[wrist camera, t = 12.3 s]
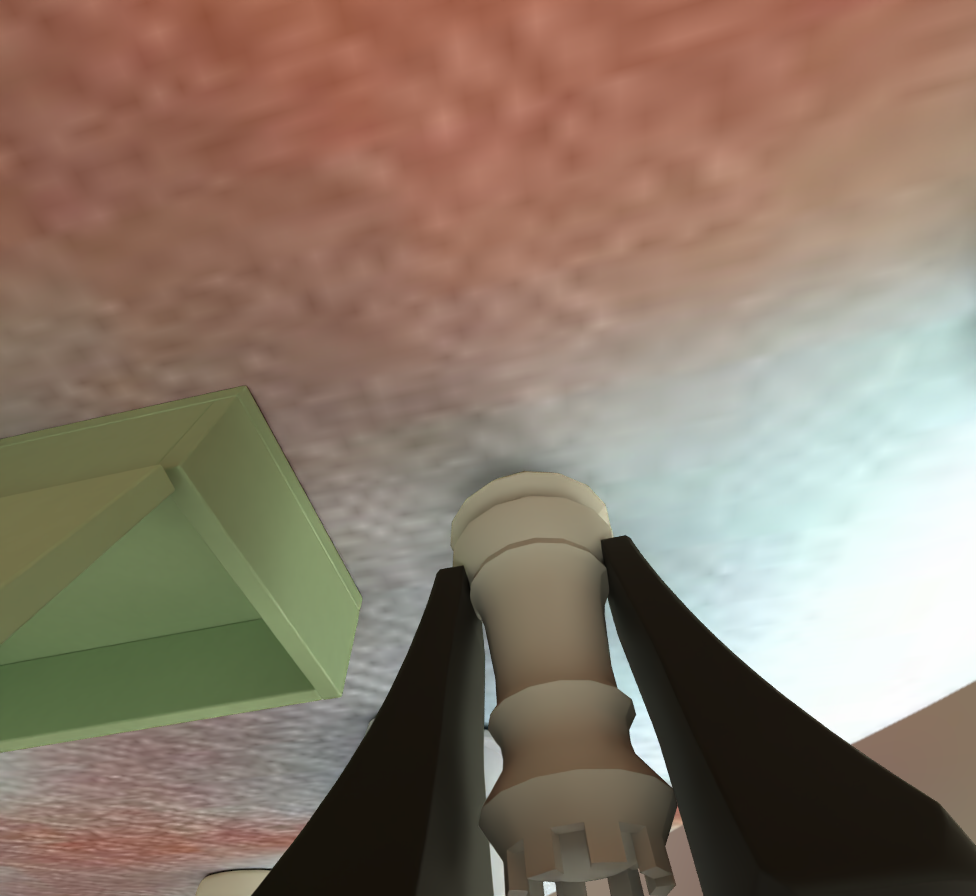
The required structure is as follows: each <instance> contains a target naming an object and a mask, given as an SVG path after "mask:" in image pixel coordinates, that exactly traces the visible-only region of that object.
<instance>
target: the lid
mask: <svg viewBox="0 0 976 896" xmlns="http://www.w3.org/2000/svg"><path fill="white" fill-rule="evenodd" d="M174 491H175V488H174V486H173V485H172V483H171V481H170V479H169V478H168V476H167V474H166V472H165V471H164V469H163V467H162V466H161V465H154V466H149V467H145V468H140V469H135V470H130V471H125V472H121V473H116V474H111V475H106V476H102V477H97V478H92V479H87V480H83V481H78V482H73V483H68V484H63V485H59V486H54V487H49V488H44V489H40V490H35V491H30V492H25V493H20V494H16V495H11V496H6V497H1V498H0V645H1V644H3V643H4V642H5V641H6V640H7V639H8V638H9V637H10V636H12V635H13V634H14V633H15V632H16V631H17V630H18V629H19V628H21V627H22V626H23V625H24V624H25V623H26V622H27V621H28V620H30V619H31V618H32V617H33V616H34V615H35V614H36V613H37V612H39V611H40V610H41V609H42V608H43V607H44V606H45V605H46V604H48V603H49V602H50V601H51V600H52V599H53V598H54V597H56V596H57V595H58V594H59V593H60V592H61V591H62V590H63V589H65V588H66V587H67V586H68V585H69V584H70V583H71V582H72V581H74V580H75V579H76V578H77V577H78V576H79V575H80V574H81V573H83V572H84V571H85V570H86V569H87V568H88V567H89V566H90V565H92V564H93V563H94V562H95V561H96V560H97V559H98V558H99V557H101V556H102V555H103V554H104V553H105V552H106V551H107V550H108V549H110V548H111V547H112V546H113V545H114V544H115V543H116V542H117V541H119V540H120V539H121V538H122V537H123V536H124V535H125V534H126V533H128V532H129V531H130V530H131V529H132V528H133V527H134V526H136V525H137V524H138V523H139V522H140V521H141V520H142V519H143V518H145V517H146V516H147V515H148V514H149V513H150V512H151V511H152V510H154V509H155V508H156V507H157V506H158V505H159V504H160V503H161V502H163V501H164V500H165V499H166V498H167V497H168V496H169V495H170V494H172V493H173V492H174Z"/></svg>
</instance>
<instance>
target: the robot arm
mask: <svg viewBox="0 0 976 896" xmlns="http://www.w3.org/2000/svg"><path fill="white" fill-rule="evenodd" d="M601 549H602V555H603V561H604V566H605V567H606V568H607V575H608V583H609V594H608V597H607V598H608V601H609V605H610V609H611V612H612V616H613V620H614V623H615V627H616V630H617V634H618V637H619V639H620V642H621V644H622V647H623V650H624V652H625V655H626V657H627V660H628V662H629V665H630V668H631V670H632V673H633V675H634V678H635V680H636V683H637V686H638V688H639V691H640V693H641V696H642V698H643V701H644V703H645V706H646V709H647V711H648V714H649V716H650V719H651V721H652V724H653V727H654V730H655V733H656V735H657V738H658V741H659V744H660V747H661V750H662V754H663V757H664V760H665V764H666V767H667V771H668V774H669V777H670V781H671V784H672V787H673V789H674V793H675V797H676V801H677V804H678V808H679V811H680V815H681V818H682V822H683V825H684V829H685V832H686V835H687V839H688V842H689V846H690V849H691V853H692V857H693V860H694V864H695V867H696V871H697V874H698V878H699V881H700V885H701V888H702V892H703V896H976V845H975V844H974V843H973V842H972V841H971V839H970V838H969V837H968V836H967V835H966V834H965V832H964V831H963V830H962V829H961V828H960V826H959V825H958V824H957V823H956V822H955V821H954V820H953V818H952V817H951V816H950V815H949V814H948V813H947V812H946V810H945V809H944V808H943V807H942V806H941V805H940V804H939V803H938V802H937V801H935V800H933V799H932V798H930V797H929V796H927V795H926V794H924V793H922V792H921V791H919V790H918V789H916V788H915V787H913V786H912V785H910V784H908V783H907V782H905V781H904V780H902V779H901V778H899V777H897V776H896V775H894V774H893V773H891V772H890V771H888V770H887V769H885V768H884V767H882V766H881V765H879V764H878V763H876V762H875V761H873V760H872V759H870V758H869V757H867V756H866V755H865V754H863V753H862V752H860V751H859V750H857V749H856V748H854V747H853V746H852V745H850V744H849V743H847V742H846V741H844V740H843V739H842V738H840V737H839V736H837V735H836V734H834V733H833V732H832V731H830V730H829V729H828V728H826V727H825V726H824V725H822V724H821V723H820V722H818V721H817V720H816V719H814V718H813V717H812V716H810V715H809V714H808V713H806V712H805V711H804V710H802V709H801V708H800V707H798V706H797V705H796V704H795V703H793V702H792V701H791V700H789V699H788V698H787V697H785V696H784V695H783V694H781V693H780V692H779V691H778V690H776V689H775V688H774V687H773V686H772V685H770V684H769V683H768V682H767V681H766V680H764V679H763V678H762V677H761V676H759V675H758V674H757V673H756V672H755V671H753V670H752V669H751V668H750V667H749V666H748V665H747V664H745V663H744V662H743V661H742V660H741V659H740V658H739V657H737V656H736V655H735V654H734V653H733V652H732V651H731V650H730V649H729V648H728V647H726V646H725V645H724V644H723V643H722V642H721V641H720V640H719V639H718V638H717V637H716V636H715V635H714V634H713V633H712V632H711V631H710V630H709V629H708V628H707V627H706V626H705V625H704V624H703V623H702V622H701V621H700V620H699V619H698V618H697V617H696V616H695V615H694V614H693V613H692V612H691V611H690V610H689V609H688V608H687V607H686V606H685V605H684V604H683V603H682V601H681V600H680V599H679V598H678V597H677V596H676V595H675V594H674V593H673V592H672V591H671V589H670V588H669V587H668V586H667V585H666V584H665V583H664V581H663V580H662V579H661V578H660V577H659V576H658V574H657V573H656V572H655V571H654V569H653V568H652V567H651V566H650V565H649V563H648V562H647V561H646V559H645V558H644V557H643V555H642V554H641V553H640V551H639V550H638V549H637V547H636V546H635V544H634V543H633V542H632V540H631V538H629V537H628V536H626V535H624V536H619V537H613V538H608V539H603V540H601ZM470 591H471V589H470V585H469V581H468V577H467V574H466V571H465V568H464V565H462V566H456V567H451V568H445V569H440V570H439V571H438V573H437V574H436V578H435V581H434V584H433V588H432V591H431V594H430V597H429V600H428V603H427V605H426V608H425V611H424V613H423V616H422V619H421V622H420V624H419V626H418V629H417V631H416V634H415V636H414V639H413V641H412V644H411V646H410V648H409V651H408V653H407V655H406V657H405V660H404V662H403V664H402V666H401V668H400V670H399V672H398V675H397V677H396V679H395V681H394V683H393V685H392V687H391V689H390V691H389V693H388V695H387V697H386V699H385V701H384V703H383V705H382V707H381V708H380V710H379V712H378V714H377V716H376V718H375V719H373V720H371V721H370V723H369V725H368V728H367V731H366V733H365V736H364V738H363V740H362V742H361V743H360V745H359V747H358V748H357V750H356V752H355V753H354V755H353V756H352V758H351V760H350V761H349V763H348V764H347V766H346V768H345V769H344V771H343V772H342V774H341V775H340V777H339V778H338V780H337V781H336V783H335V784H334V786H333V787H332V789H331V790H330V791H329V793H328V794H327V796H326V797H325V799H324V800H323V801H322V803H321V804H320V806H319V807H318V809H317V810H316V811H315V813H314V814H313V816H312V817H311V819H310V820H309V821H308V823H307V824H306V826H305V827H304V828H303V830H302V831H301V832H300V834H299V835H298V836H297V838H296V839H295V840H294V842H293V843H292V844H291V845H290V847H289V848H288V849H287V851H286V852H285V853H284V854H283V856H282V857H281V858H280V859H279V861H278V862H277V863H276V865H275V866H274V867H273V868H272V870H271V871H270V872H269V873H268V875H267V876H266V877H265V879H264V880H263V881H262V882H261V884H260V885H259V886H258V887H257V889H256V890H255V891H254V892H253V894H252V895H251V896H505V882H504V865H503V861H502V859H501V858H500V857H499V855H498V854H497V852H496V851H495V849H494V848H493V846H492V845H491V843H490V842H489V840H488V839H487V837H486V836H485V834H484V833H483V832H482V830H481V829H480V827H479V826H478V824H479V819H480V813H481V808H482V807H483V805H484V803H485V801H486V799H487V798H488V796H489V794H490V792H491V790H492V789H493V787H494V785H495V783H496V781H497V780H498V778H499V776H500V774H501V772H502V770H503V758H502V753H501V748H500V747H499V746H498V745H497V744H496V742H495V740H494V739H493V737H492V736H491V734H490V732H489V731H488V730H484V700H485V651H484V640H483V629H482V621H481V620H480V619H478V617H477V615H476V613H475V610H474V608H473V605H472V603H471V599H470Z"/></svg>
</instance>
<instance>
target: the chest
mask: <svg viewBox="0 0 976 896" xmlns="http://www.w3.org/2000/svg"><path fill="white" fill-rule="evenodd" d="M154 465H161V466H162V467H163V469H164V471H165V472H166V474H167V476H168V478H169V479H170V481H171V483H172V485H173V486H174V488H175V491H174V492H173V493H172V494H170V495H169V496H168V497H167V498H166V499H165V500H164V501H163V502H161V503H160V504H159V505H158V506H157V507H156V508H155V509H154V510H152V511H151V512H150V513H149V514H148V515H147V516H146V517H145V518H143V519H142V520H141V521H140V522H139V523H138V524H137V525H136V526H134V527H133V528H132V529H131V530H130V531H129V532H128V533H126V534H125V535H124V536H123V537H122V538H121V539H120V540H119V541H117V542H116V543H115V544H114V545H113V546H112V547H111V548H110V549H108V550H107V551H106V552H105V553H104V554H103V555H102V556H101V557H99V558H98V559H97V560H96V561H95V562H94V563H93V564H92V565H90V566H89V567H88V568H87V569H86V570H85V571H84V572H83V573H81V574H80V575H79V576H78V577H77V578H76V579H75V580H74V581H72V582H71V583H70V584H69V585H68V586H67V587H66V588H65V589H63V590H62V591H61V592H60V593H59V594H58V595H57V596H56V597H54V598H53V599H52V600H51V601H50V602H49V603H48V604H46V605H45V606H44V607H43V608H42V609H41V610H40V611H39V612H37V613H36V614H35V615H34V616H33V617H32V618H31V619H30V620H28V621H27V622H26V623H25V624H24V625H23V626H22V627H21V628H19V629H18V630H17V631H16V632H15V633H14V634H13V635H12V636H10V637H9V638H8V639H7V640H6V641H5V642H4V643H3V644H1V645H0V753H2V752H8V751H14V750H20V749H26V748H32V747H38V746H44V745H50V744H56V743H62V742H69V741H75V740H81V739H87V738H93V737H99V736H105V735H111V734H117V733H123V732H129V731H135V730H142V729H148V728H154V727H160V726H166V725H172V724H178V723H184V722H190V721H196V720H202V719H208V718H215V717H221V716H227V715H233V714H239V713H245V712H251V711H257V710H263V709H269V708H275V707H281V706H288V705H294V704H300V703H306V702H312V701H318V700H321V699H323V700H326V699H332V698H338V697H342V693H343V689H344V684H345V679H346V674H347V669H348V665H349V660H350V655H351V650H352V646H353V641H354V636H355V631H356V627H357V622H358V617H359V611H360V607H361V602H362V597H361V595H360V593H359V591H358V589H357V588H356V586H355V584H354V582H353V580H352V578H351V577H350V575H349V573H348V571H347V569H346V567H345V566H344V564H343V562H342V560H341V558H340V556H339V555H338V553H337V551H336V549H335V547H334V545H333V544H332V542H331V540H330V538H329V536H328V534H327V533H326V531H325V529H324V527H323V525H322V523H321V522H320V520H319V518H318V516H317V514H316V512H315V511H314V509H313V507H312V505H311V503H310V501H309V500H308V498H307V496H306V494H305V492H304V490H303V489H302V487H301V485H300V483H299V481H298V479H297V478H296V476H295V474H294V472H293V470H292V468H291V467H290V465H289V463H288V461H287V459H286V457H285V456H284V454H283V452H282V450H281V448H280V447H279V445H278V443H277V441H276V439H275V437H274V436H273V434H272V432H271V430H270V428H269V426H268V425H267V423H266V421H265V419H264V417H263V415H262V414H261V412H260V410H259V408H258V406H257V404H256V403H255V401H254V399H253V397H252V395H251V393H250V392H249V390H248V388H247V387H246V386H240V387H236V388H231V389H227V390H222V391H218V392H213V393H209V394H204V395H200V396H195V397H190V398H186V399H181V400H177V401H172V402H168V403H163V404H159V405H154V406H149V407H145V408H140V409H136V410H131V411H127V412H122V413H118V414H113V415H109V416H104V417H99V418H95V419H90V420H86V421H81V422H77V423H72V424H68V425H63V426H59V427H54V428H49V429H45V430H40V431H36V432H31V433H27V434H22V435H18V436H13V437H9V438H4V439H0V498H1V497H6V496H11V495H16V494H20V493H25V492H30V491H35V490H40V489H44V488H49V487H54V486H59V485H63V484H68V483H73V482H78V481H83V480H87V479H92V478H97V477H102V476H106V475H111V474H116V473H121V472H125V471H130V470H135V469H140V468H145V467H149V466H154Z"/></svg>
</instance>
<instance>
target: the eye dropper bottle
mask: <svg viewBox="0 0 976 896" xmlns="http://www.w3.org/2000/svg"><path fill="white" fill-rule="evenodd" d="M270 871H271V870H238V871H229V872H222V873H217V874H213V875H209V876H207V877H206V878H204V879H203V880H202V881H201V883H200V884H199V887H198V889H197V892H196V895H195V896H251V895H252V894H253V892H254V891H255V890H256V889H257V887H258V886H259V885H260V884H261V882H262V881H263V880H264V879H265V877H266V876H267V875H268V873H269V872H270Z"/></svg>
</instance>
